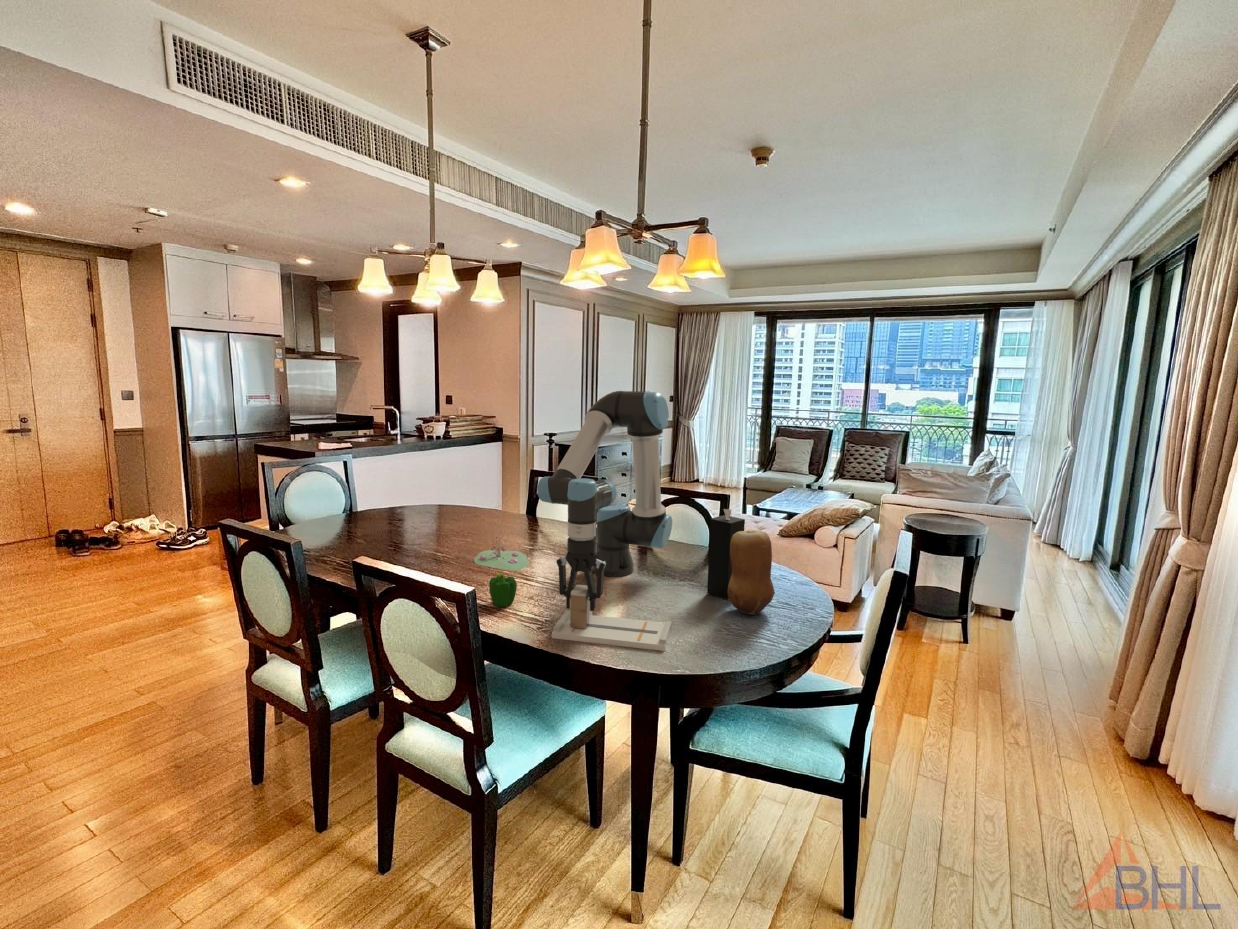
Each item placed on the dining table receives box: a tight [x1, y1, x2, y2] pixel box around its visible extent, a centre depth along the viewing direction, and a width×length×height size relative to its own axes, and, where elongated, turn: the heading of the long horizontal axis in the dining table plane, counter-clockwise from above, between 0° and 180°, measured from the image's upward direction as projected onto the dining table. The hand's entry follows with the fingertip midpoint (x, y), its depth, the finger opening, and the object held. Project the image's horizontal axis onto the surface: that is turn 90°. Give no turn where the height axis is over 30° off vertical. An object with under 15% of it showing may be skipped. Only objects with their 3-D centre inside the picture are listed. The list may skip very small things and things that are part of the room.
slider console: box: [551, 610, 673, 652], centre depth 160 cm, size 14×30×2 cm, turn 78°
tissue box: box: [706, 508, 746, 600], centre depth 189 cm, size 8×8×28 cm
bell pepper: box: [488, 572, 518, 608], centre depth 179 cm, size 8×8×10 cm
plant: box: [473, 536, 531, 572], centre depth 221 cm, size 25×21×9 cm
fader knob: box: [571, 584, 589, 629], centre depth 161 cm, size 6×4×10 cm, turn 168°
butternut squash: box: [728, 529, 776, 616], centre depth 174 cm, size 14×13×25 cm
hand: (580, 620), depth 161 cm, fingers closed on fader knob, 4 cm apart
